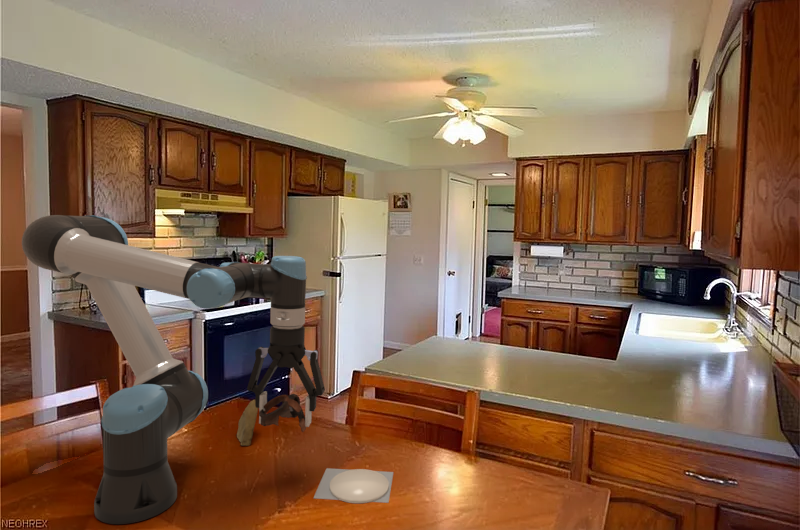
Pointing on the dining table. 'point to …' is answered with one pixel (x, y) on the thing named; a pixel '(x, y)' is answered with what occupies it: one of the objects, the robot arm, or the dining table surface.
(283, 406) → the broken terracotta ring
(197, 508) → the dining table surface
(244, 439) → the rock
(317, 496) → the felt placemat
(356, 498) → the cream round plate
